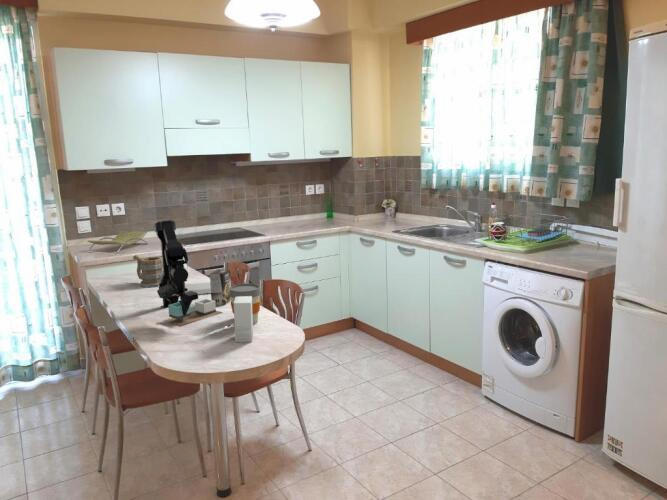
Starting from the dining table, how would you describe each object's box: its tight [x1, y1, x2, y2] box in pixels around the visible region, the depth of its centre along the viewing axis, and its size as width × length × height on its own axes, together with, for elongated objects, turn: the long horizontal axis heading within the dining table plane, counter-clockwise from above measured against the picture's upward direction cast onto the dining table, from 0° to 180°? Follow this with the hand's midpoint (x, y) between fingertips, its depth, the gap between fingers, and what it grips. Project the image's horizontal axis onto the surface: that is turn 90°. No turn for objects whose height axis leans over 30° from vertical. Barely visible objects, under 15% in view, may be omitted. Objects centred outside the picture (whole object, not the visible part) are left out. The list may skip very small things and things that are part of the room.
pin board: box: [162, 302, 223, 327], centre depth 221 cm, size 12×22×6 cm, turn 142°
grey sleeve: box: [194, 298, 217, 316], centre depth 226 cm, size 6×6×5 cm
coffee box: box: [209, 268, 232, 307], centre depth 240 cm, size 9×6×16 cm
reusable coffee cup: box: [230, 283, 262, 326], centre depth 216 cm, size 13×13×15 cm
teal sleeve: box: [168, 302, 191, 320], centre depth 216 cm, size 6×6×5 cm
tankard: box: [132, 254, 163, 289], centre depth 282 cm, size 20×13×15 cm, turn 58°
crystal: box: [185, 278, 211, 295], centre depth 264 cm, size 7×7×24 cm
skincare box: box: [233, 296, 254, 344], centre depth 198 cm, size 8×7×16 cm
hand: (179, 313), depth 216 cm, fingers closed on teal sleeve, 6 cm apart
